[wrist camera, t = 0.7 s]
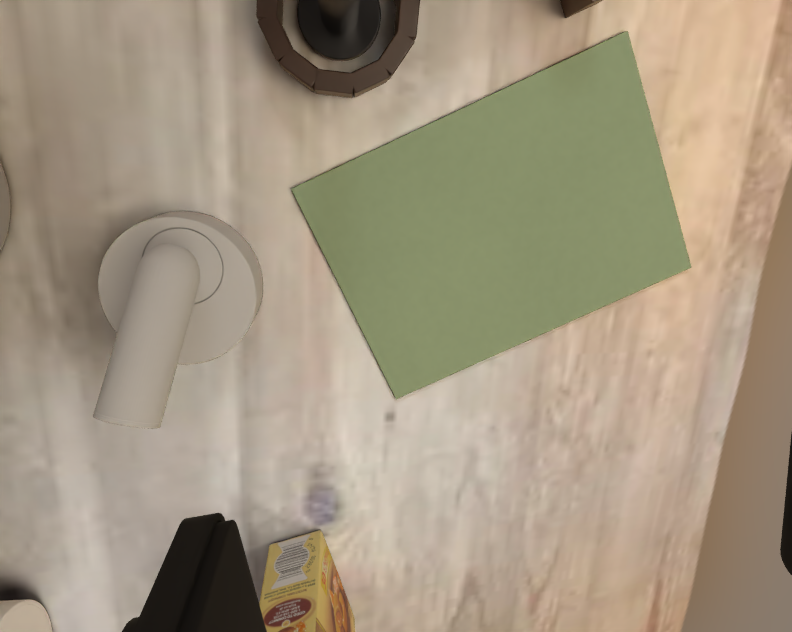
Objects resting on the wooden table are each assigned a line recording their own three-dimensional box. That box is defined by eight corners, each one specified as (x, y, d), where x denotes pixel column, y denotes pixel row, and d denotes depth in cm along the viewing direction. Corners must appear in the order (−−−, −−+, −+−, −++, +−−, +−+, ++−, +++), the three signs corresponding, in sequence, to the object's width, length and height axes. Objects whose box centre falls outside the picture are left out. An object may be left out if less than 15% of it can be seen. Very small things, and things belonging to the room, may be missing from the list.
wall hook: (15, 428, 25) (36, 214, 22) (104, 352, 34) (126, 193, 31) (207, 465, 26) (249, 267, 24) (243, 382, 35) (276, 232, 33)
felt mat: (291, 188, 32) (290, 189, 32) (625, 31, 31) (627, 30, 31) (395, 397, 37) (396, 399, 36) (689, 266, 36) (691, 267, 35)
